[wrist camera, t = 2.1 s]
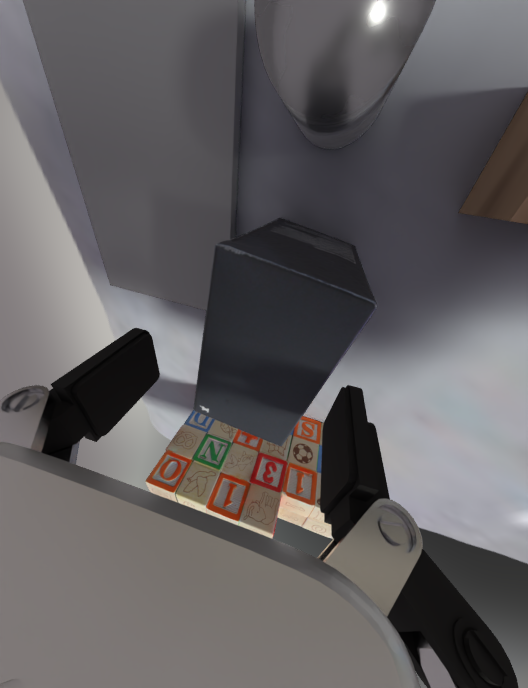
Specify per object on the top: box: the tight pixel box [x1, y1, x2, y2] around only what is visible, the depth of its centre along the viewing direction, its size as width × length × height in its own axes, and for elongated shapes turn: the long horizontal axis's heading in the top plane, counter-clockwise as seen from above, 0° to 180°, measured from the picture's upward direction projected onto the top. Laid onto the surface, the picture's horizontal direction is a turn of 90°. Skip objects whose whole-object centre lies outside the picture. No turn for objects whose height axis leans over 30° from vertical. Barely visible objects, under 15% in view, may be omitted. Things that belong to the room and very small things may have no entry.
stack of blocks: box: [146, 410, 333, 539], centre depth 24 cm, size 21×6×12 cm, turn 84°
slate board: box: [23, 0, 246, 310], centre depth 16 cm, size 13×18×1 cm
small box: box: [194, 218, 377, 446], centre depth 14 cm, size 11×6×10 cm, turn 164°
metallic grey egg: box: [254, 0, 436, 149], centre depth 9 cm, size 5×5×7 cm
